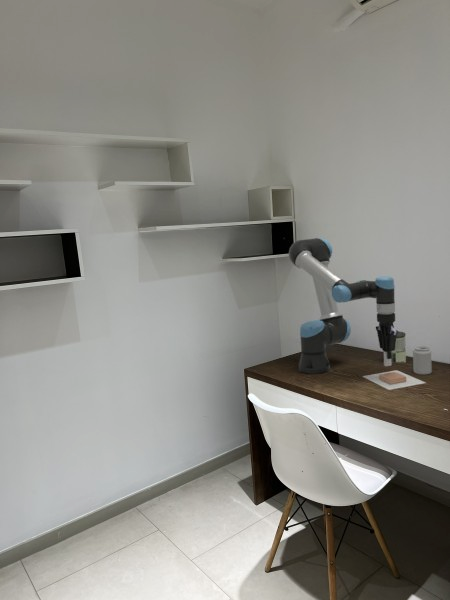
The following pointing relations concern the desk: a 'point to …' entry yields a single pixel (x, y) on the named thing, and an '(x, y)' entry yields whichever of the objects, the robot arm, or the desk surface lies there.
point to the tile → (392, 377)
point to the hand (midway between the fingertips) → (387, 365)
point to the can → (422, 360)
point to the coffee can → (399, 349)
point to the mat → (409, 382)
